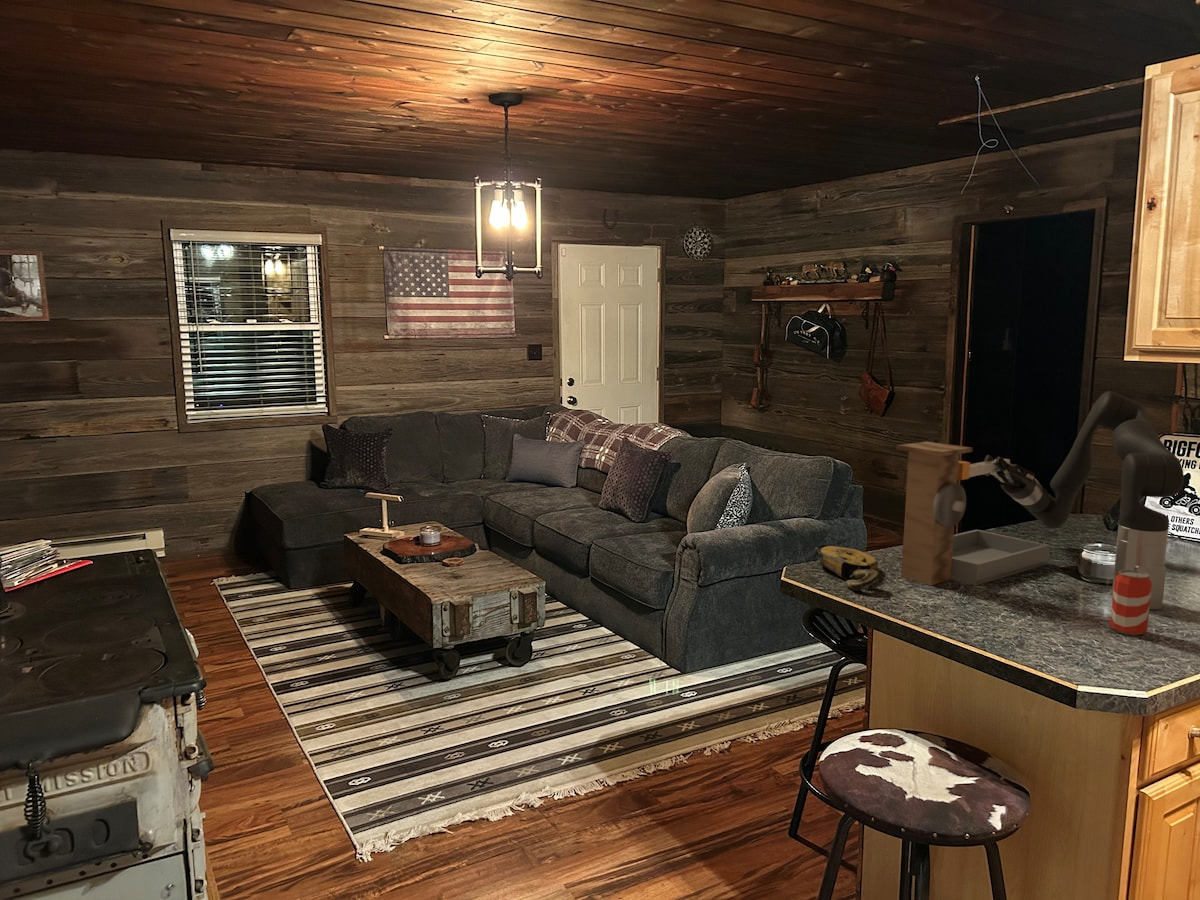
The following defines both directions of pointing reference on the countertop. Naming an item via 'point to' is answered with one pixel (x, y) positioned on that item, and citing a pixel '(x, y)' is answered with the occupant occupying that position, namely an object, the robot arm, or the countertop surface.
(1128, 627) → the beverage can
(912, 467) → the bracket
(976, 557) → the tray
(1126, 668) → the countertop surface
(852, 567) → the pulley block
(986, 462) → the pin
